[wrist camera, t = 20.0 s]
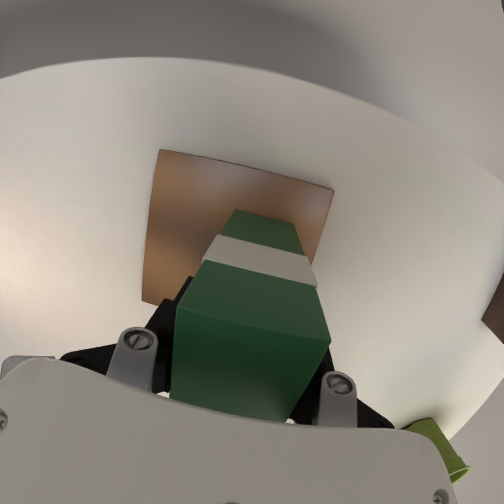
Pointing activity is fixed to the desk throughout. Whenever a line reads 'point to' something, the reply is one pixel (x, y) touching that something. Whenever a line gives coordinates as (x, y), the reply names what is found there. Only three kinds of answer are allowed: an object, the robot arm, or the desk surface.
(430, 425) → the plant pot
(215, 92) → the desk surface
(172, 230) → the coaster
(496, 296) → the block
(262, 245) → the block
